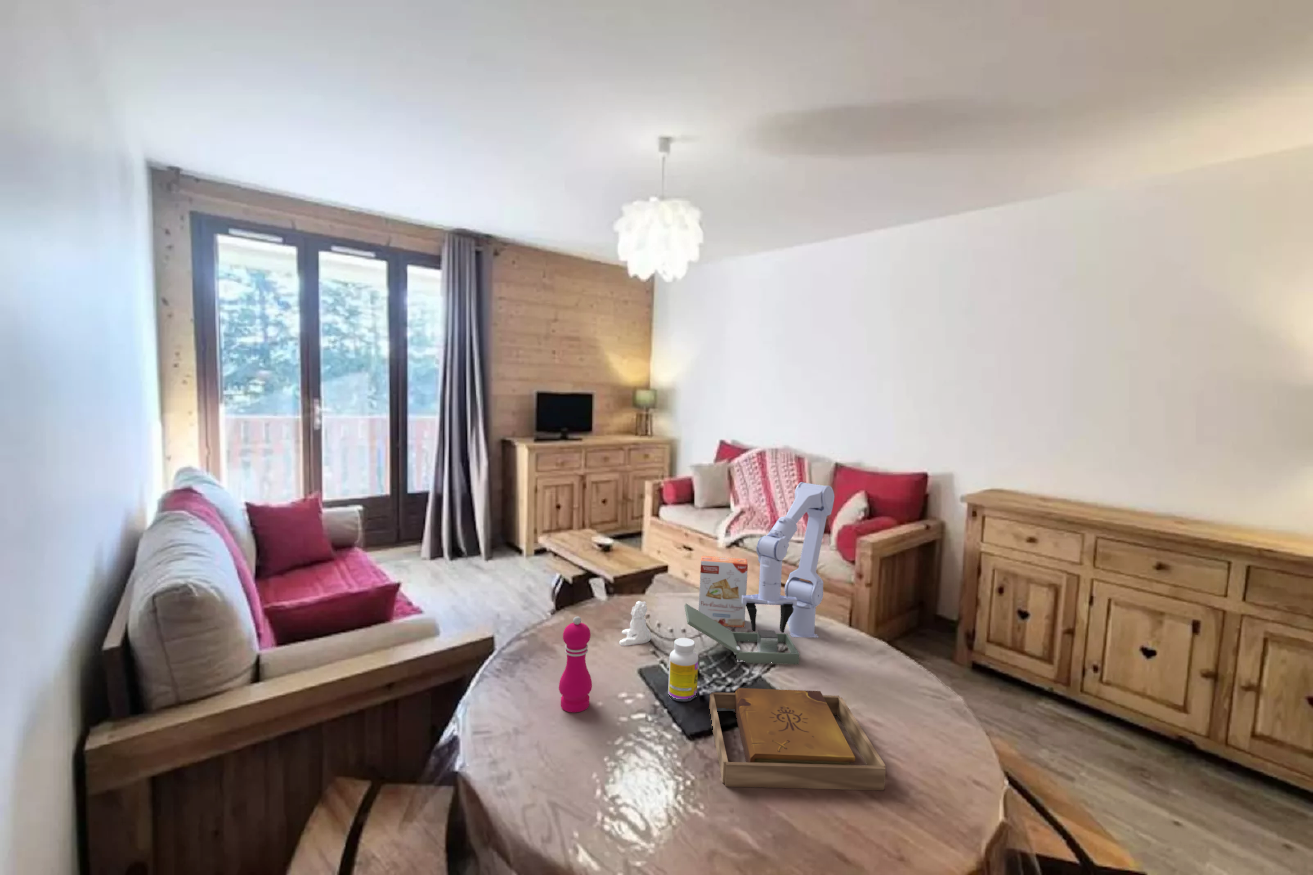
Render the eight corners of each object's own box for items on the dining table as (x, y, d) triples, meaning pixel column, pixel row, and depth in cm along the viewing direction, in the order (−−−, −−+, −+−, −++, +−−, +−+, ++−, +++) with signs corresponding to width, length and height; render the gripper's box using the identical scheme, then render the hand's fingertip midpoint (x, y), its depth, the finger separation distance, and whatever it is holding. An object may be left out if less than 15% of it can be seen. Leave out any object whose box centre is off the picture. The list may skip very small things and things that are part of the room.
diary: (734, 713, 126) (735, 687, 126) (819, 716, 126) (820, 690, 125) (749, 783, 103) (750, 752, 103) (853, 787, 103) (855, 756, 103)
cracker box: (697, 629, 170) (700, 560, 169) (698, 621, 176) (700, 554, 175) (744, 633, 169) (748, 563, 167) (744, 625, 175) (747, 557, 173)
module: (756, 649, 156) (757, 630, 156) (773, 650, 156) (774, 630, 156) (759, 657, 152) (760, 636, 152) (776, 657, 152) (777, 637, 152)
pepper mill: (585, 716, 122) (587, 624, 121) (553, 711, 123) (555, 621, 122) (595, 699, 129) (598, 612, 128) (565, 694, 130) (567, 609, 129)
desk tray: (708, 709, 126) (709, 692, 126) (839, 713, 126) (840, 695, 126) (723, 786, 101) (724, 764, 101) (886, 790, 102) (887, 768, 101)
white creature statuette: (621, 635, 165) (623, 594, 164) (651, 636, 164) (653, 595, 163) (618, 649, 155) (619, 606, 154) (650, 650, 155) (651, 607, 154)
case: (683, 642, 160) (684, 603, 160) (786, 645, 161) (788, 606, 160) (685, 664, 147) (687, 621, 147) (798, 667, 148) (800, 624, 147)
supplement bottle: (698, 704, 128) (700, 648, 127) (668, 703, 128) (670, 647, 127) (695, 689, 135) (697, 636, 134) (667, 688, 135) (669, 635, 134)
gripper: (745, 585, 149) (743, 636, 150) (801, 586, 149) (798, 637, 150) (741, 576, 156) (738, 625, 157) (794, 578, 156) (791, 627, 157)
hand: (767, 630), depth 154 cm, fingers open, 7 cm apart
